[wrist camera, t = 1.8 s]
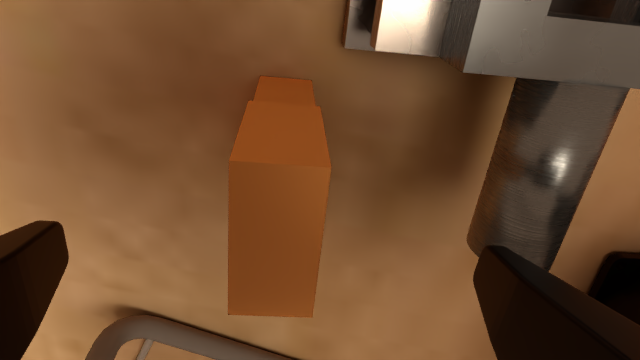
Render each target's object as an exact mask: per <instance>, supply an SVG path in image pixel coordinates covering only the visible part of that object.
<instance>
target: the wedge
mask: <svg viewBox="0 0 640 360" xmlns="http://www.w3.org/2000/svg"><path fill="white" fill-rule="evenodd" d="M331 168H332V167H331V162H330V157H329V151H328V146H327V140H326V135H325V130H324V124H323V119H322V114H321V108H320V106H316V105H315V98H314V92H313V86H312V80H302V79H291V78H280V77H268V76H260V79H259V82H258V86H257V89H256V93H255V96H254V99H253V101H248V104H247V107H246V110H245V113H244V116H243V119H242V122H241V125H240V128H239V131H238V134H237V137H236V140H235V143H234V147H233V150H232V153H231V156H230V159H229V231H228V315H253V316H282V317H311V318H312V317H313V309H314V301H315V294H316V286H317V278H318V270H319V262H320V254H321V247H322V239H323V231H324V223H325V215H326V208H327V200H328V192H329V184H330V176H331Z"/></svg>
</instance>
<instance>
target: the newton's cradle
mask: <svg viewBox="0 0 640 360" xmlns="http://www.w3.org/2000/svg"><path fill="white" fill-rule="evenodd" d="M142 338H143V339H146V340H145V342H144V344H143V346H142V348H141V350H140V353H139V355H138V357H137V359H136V360H145V357H146V355H147V353H148V351H149V349H150V347H151V345H152V343H153V341H156V342H159V343H163V344H166V345H169V346H173V347H176V348H179V349H183V350H186V351H189V352H193V353H196V354H199V355H203V356H206V357H209V358H212V359H216V360H293V359H289V358H286V357H283V356H280V355H277V354H274V353H270V352H267V351H264V350H261V349H258V348H255V347H252V346H248V345H245V344H242V343H239V342H236V341H233V340H230V339H226V338H223V337H220V336H217V335H214V334H211V333H207V332H204V331H201V330H198V329H195V328H192V327H189V326H185V325H182V324H179V323H176V322H173V321H170V320H167V319H163V318H160V317H155V316H150V315H136V316H129V317H126V318H123V319H120V320H117V321H116V322H114V323H113V324H111V325H110V326H108V327H107V328H105V329H104V330H103V331H102V332H101V334H100V335H99V336H98V338H97V339H96V340H95V342H94V343H93V345H92V347H91V349H90V351H89V353H88V355H87V357H86V358H85V360H114V359H115V356H116V354H117V352H118V350H119V349H120V347H121V346H122V345H123V344H124V343H126V342H128V341H130V340H133V339H142Z"/></svg>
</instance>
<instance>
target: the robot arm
mask: <svg viewBox="0 0 640 360" xmlns="http://www.w3.org/2000/svg"><path fill="white" fill-rule="evenodd" d="M68 259H69V255H68V249H67V244H66V239H65V234H64V230H63V226H62V225H61V224H60V223H59V222H57V221H35V222H32V223H30V224H28V225H25V226H23V227H20V228H18V229H15V230H13V231H11V232H8V233H6V234H3V235H1V236H0V360H21V358H22V356H23V355H24V353H25V351H26V350H27V348H28V346H29V345H30V343H31V341H32V339H33V338H34V336H35V334H36V332H37V330H38V328H39V326H40V324H41V322H42V320H43V318H44V316H45V314H46V311H47V309H48V307H49V305H50V303H51V300H52V298H53V296H54V294H55V291H56V289H57V287H58V285H59V283H60V280H61V278H62V276H63V274H64V272H65V269H66V267H67V264H68ZM473 282H474V287H475V290H476V294H477V297H478V301H479V304H480V307H481V311H482V314H483V318H484V321H485V324H486V328H487V331H488V334H489V338H490V341H491V344H492V346H493V349H494V352H495V354H496V357H497V359H498V360H640V254H629V253H615V254H613V255H611V256H610V257H608V259H607V260H606V262H605V264H604V266H603V268H602V270H601V272H600V274H599V276H598V278H597V280H596V282H595V283H594V285H593V287H592V289H591V291H590V293H589V295H587V294H585V293H583V292H581V291H580V290H578V289H576V288H575V287H573V286H571V285H570V284H568V283H566V282H564V281H563V280H561V279H559V278H558V277H556V276H554V275H553V274H551V273H549V272H547V271H546V270H544V269H542V268H541V267H539V266H537V265H535V264H534V263H532V262H530V261H529V260H527V259H525V258H524V257H522V256H520V255H518V254H517V253H515V252H513V251H512V250H510V249H508V248H507V247H505V246H499V245H486V246H485V247H483V249H482V251H481V254H480V257H479V260H478V263H477V266H476V268H475V271H474V276H473Z"/></svg>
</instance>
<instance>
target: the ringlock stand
mask: <svg viewBox="0 0 640 360" xmlns="http://www.w3.org/2000/svg"><path fill="white" fill-rule="evenodd" d="M342 45H343V46H344V48H348V49H358V50H369V51H379V52H389V53H400V54H410V55H420V56H431V57H440V58H441V59H443V60H444V61H446V62H447V63H449V64H451V65H452V66H454V67H455V68H457V69H458V70H460V71H462V72H465V73H475V74H486V75H497V76H507V77H517V78H516V81H515V84H514V87H513V90H512V94H511V97H510V100H509V103H508V106H507V110H506V113H505V116H504V119H503V122H502V126H501V129H500V132H499V135H498V138H497V141H496V145H495V148H494V151H493V154H492V157H491V161H490V164H489V167H488V170H487V173H486V177H485V180H484V183H483V186H482V189H481V192H480V196H479V199H478V202H477V205H476V208H475V212H474V215H473V218H472V221H471V224H470V228H469V231H468V234H467V243H468V245H469V247H470V249H471V250H472V251H473V252H474V253H475V254H476V255H477V256H478V257H480V254H481V251H482V249H483V247H485V246H486V245H499V246H505V247H507V248H508V249H510V250H512V251H513V252H515V253H517V254H518V255H520V256H522V257H524V258H525V259H527V260H529V261H530V262H532V263H534V264H535V265H537V266H539V267H541V268H542V269H544V270H546V271H549V270H550V269H551V266H552V264H553V262H554V260H555V257H556V255H557V253H558V251H559V248H560V246H561V244H562V241H563V239H564V237H565V235H566V232H567V230H568V228H569V226H570V223H571V221H572V219H573V216H574V214H575V212H576V210H577V207H578V205H579V203H580V201H581V198H582V196H583V194H584V191H585V189H586V187H587V185H588V182H589V180H590V178H591V176H592V173H593V171H594V169H595V167H596V164H597V162H598V160H599V157H600V155H601V153H602V151H603V148H604V146H605V144H606V142H607V139H608V137H609V135H610V132H611V130H612V128H613V126H614V123H615V121H616V119H617V117H618V114H619V112H620V110H621V107H622V105H623V103H624V101H625V98H626V96H627V94H628V92H629V89H630V88H635V89H640V0H347V4H346V12H345V21H344V29H343V37H342Z"/></svg>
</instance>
